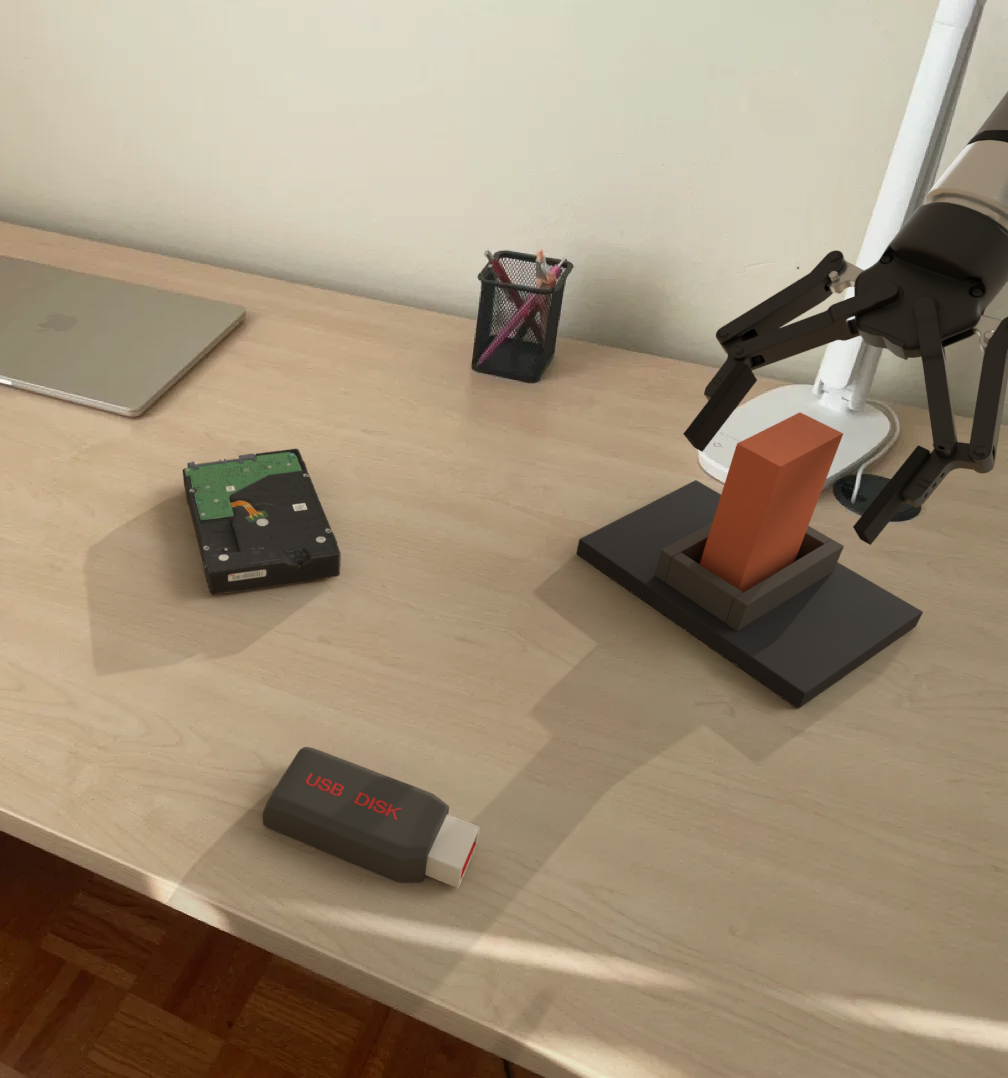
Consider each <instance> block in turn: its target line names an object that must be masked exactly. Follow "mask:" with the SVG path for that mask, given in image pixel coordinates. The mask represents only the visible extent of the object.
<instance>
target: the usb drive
mask: <svg viewBox="0 0 1008 1078" xmlns="http://www.w3.org/2000/svg"><path fill="white" fill-rule="evenodd" d="M265 803H266V804H265V806H264V808H263V812H262V825H263V826H264V827H266V828H267V829H270V830H273V831H275V832H277V833H280V834H282V835H284V836H287V837H289V838H291V839H294V840H296V841H298V842H301V843H304V844H306V845H308V846H311V847H313V848H315V849H317V850H320V851H322V852H325V853H327V854H330V855H332V856H334V857H336V858H340V859H342V860H343V861H347V862H349V863H351V864H354V865H356V866H359V867H360V868H363V869H366V870H368V871H371V872H372V873H375V874H378V875H379V876H383V877H385V878H387V879H390V880H392V881H395V882H398V883H422V882H423V881H424V880H425V877H426V876H427V877H429V878H431V879H434V880H437V881H439V882H442V883H444V884H446V885H449V886H451V887H454V888H456V889H460V885H461V883H462V881H463V879H464V876H465V874H466V871H467V869H468V867H469V864H470V862H471V859H472V858H473V856H474V853H475V851H476V848H477V846H478V840H479V836H480V830H481V826H479V825H476V824H475V823H474V824H473V823H471V822H469V821H466V820H463V819H461V818H458V817H455V816H453V815H451V814H449V812H450V805H449V804H448V803H446V802H445V801H443V799H441V798H440V797H438V796H437V795H436V794H435V793H432V792H430V791H427V790H426V789H422V788H420V787H418V786H415V785H412V784H409V783H406V782H403V781H402V780H399V779H396V778H393V777H391V776H389V775H385V774H383V773H380V772H377V771H375V770H372V769H370V768H367V767H364V766H362V765H359V764H357V763H354V762H351V761H349V760H347V759H344V758H341V757H339V756H335V755H333V754H330V753H327V752H325V751H322V750H319V749H317V748H314V747H310V746H303V747H302V748H300V749H299V750H298V751H297V754H296V755H295V756H294V758H293V760H291V762H290V764H289V766H288V767H287V769H286V770H285V772H284V773H283V776H282V777H281V778H280V780H279V782H278V783H277V784H276V787H274V790H273V791H272V792H271V794H270V795H269V798H268V799H267V801H266V802H265Z"/></svg>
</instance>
